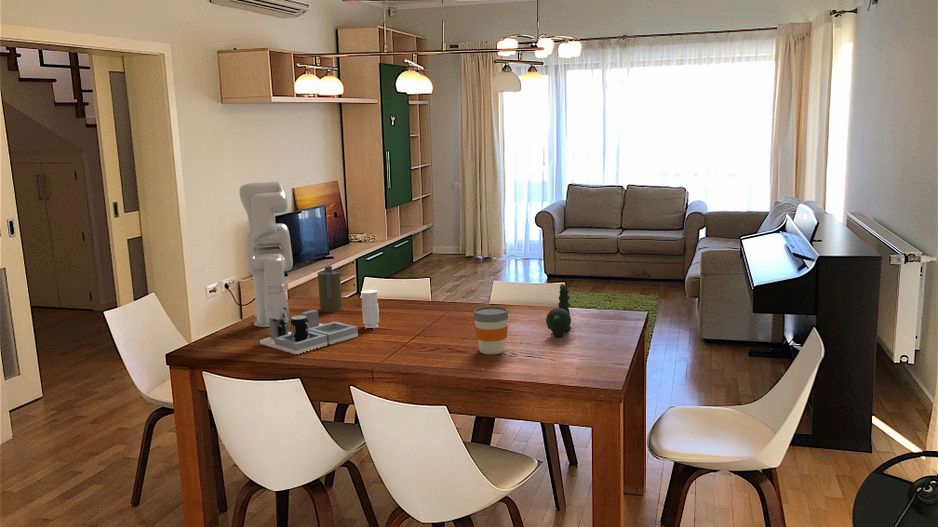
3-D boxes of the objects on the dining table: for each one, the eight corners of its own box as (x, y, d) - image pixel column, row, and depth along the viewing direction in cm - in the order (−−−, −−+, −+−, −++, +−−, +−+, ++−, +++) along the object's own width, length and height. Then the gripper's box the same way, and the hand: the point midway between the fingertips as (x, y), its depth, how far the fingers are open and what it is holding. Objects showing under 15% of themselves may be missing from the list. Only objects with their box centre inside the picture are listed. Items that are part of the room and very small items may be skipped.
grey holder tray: (260, 343, 298) (258, 322, 296) (290, 335, 308) (288, 314, 307) (296, 354, 282) (295, 332, 281) (327, 345, 292) (325, 323, 291)
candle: (369, 330, 312) (366, 294, 310) (359, 326, 318) (357, 291, 315) (383, 326, 317) (381, 291, 314) (373, 323, 322) (371, 288, 319)
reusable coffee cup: (475, 345, 285) (473, 306, 283) (508, 344, 285) (507, 305, 282) (474, 356, 273) (472, 315, 270) (509, 355, 273) (508, 314, 270)
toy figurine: (553, 328, 311) (543, 340, 287) (552, 282, 309) (542, 290, 285) (576, 329, 308) (568, 341, 284) (576, 282, 306) (568, 291, 282)
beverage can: (306, 350, 288) (303, 319, 286) (289, 349, 289) (287, 319, 287) (312, 345, 294) (310, 314, 292) (296, 344, 296) (294, 314, 293)
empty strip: (292, 334, 309) (290, 314, 307) (320, 327, 319) (319, 307, 317) (329, 344, 293) (328, 323, 291) (358, 336, 303) (356, 315, 302)
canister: (320, 307, 354) (317, 264, 350) (343, 305, 355) (340, 263, 351) (318, 313, 343) (315, 269, 339) (342, 311, 344) (339, 268, 340)
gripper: (255, 288, 300) (259, 333, 303) (279, 293, 289) (283, 340, 293) (271, 285, 305) (275, 329, 309) (296, 290, 295) (299, 336, 298)
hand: (279, 334), depth 301 cm, fingers closed on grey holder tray, 3 cm apart
